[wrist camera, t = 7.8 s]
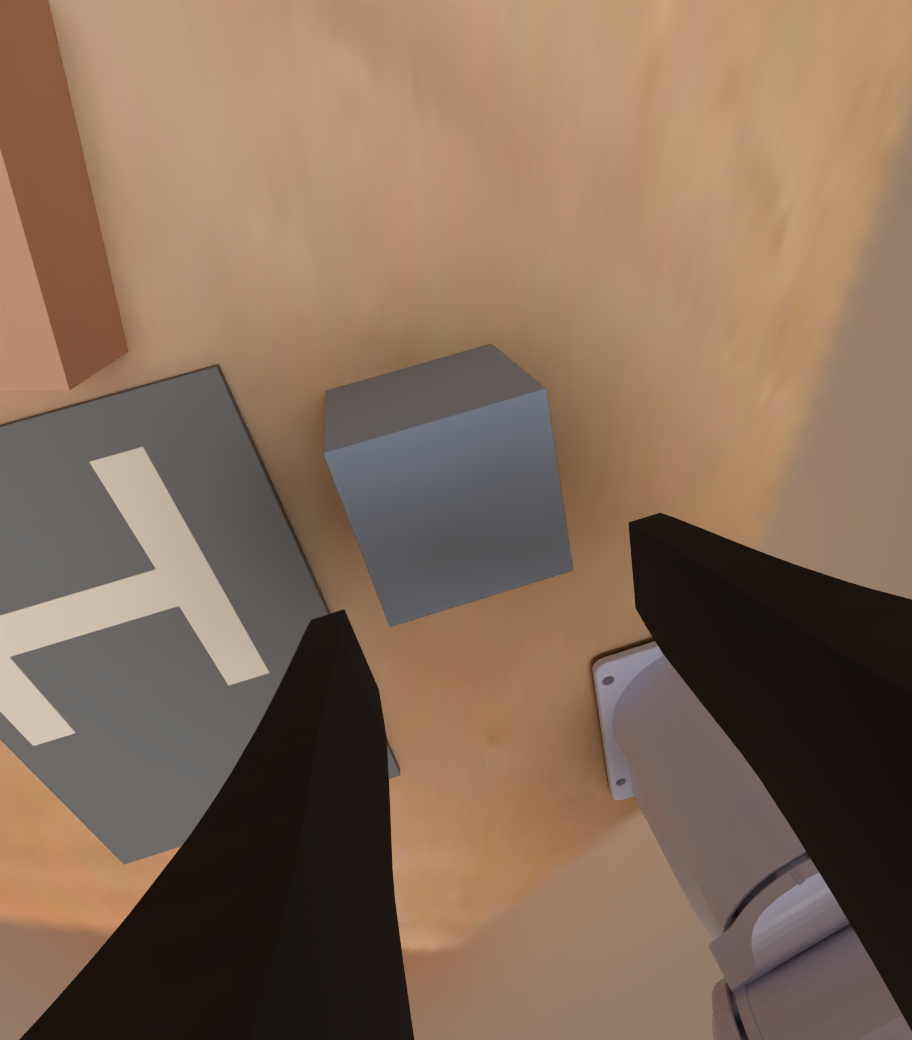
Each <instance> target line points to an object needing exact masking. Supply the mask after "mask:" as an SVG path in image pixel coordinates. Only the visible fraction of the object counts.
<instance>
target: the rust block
mask: <svg viewBox="0 0 912 1040" xmlns="http://www.w3.org/2000/svg"><path fill="white" fill-rule="evenodd" d="M126 352H128V349H127V344H126V340H125V336H124V331H123V327H122V322H121V318H120V314H119V309H118V305H117V300H116V296H115V292H114V287H113V283H112V279H111V274H110V270H109V265H108V261H107V257H106V252H105V248H104V243H103V239H102V235H101V230H100V226H99V221H98V217H97V213H96V208H95V204H94V199H93V195H92V191H91V186H90V182H89V177H88V173H87V169H86V164H85V160H84V155H83V151H82V147H81V142H80V138H79V133H78V129H77V125H76V120H75V116H74V112H73V107H72V103H71V98H70V94H69V90H68V85H67V81H66V76H65V72H64V68H63V63H62V59H61V54H60V50H59V46H58V41H57V37H56V32H55V28H54V24H53V19H52V15H51V10H50V6H49V2H48V0H0V391H63V390H71V389H72V388H74V387H75V386H77V385H78V384H80V383H81V382H83V381H84V380H86V379H87V378H89V377H90V376H92V375H93V374H95V373H96V372H98V371H99V370H101V369H102V368H104V367H105V366H107V365H108V364H110V363H111V362H113V361H114V360H116V359H117V358H119V357H120V356H122V355H123V354H125V353H126Z"/></svg>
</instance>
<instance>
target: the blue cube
mask: <svg viewBox="0 0 912 1040" xmlns="http://www.w3.org/2000/svg"><path fill="white" fill-rule="evenodd" d="M323 454H324V457H325V459H326V462H327V464H328V467H329V470H330V472H331V475H332V477H333V480H334V483H335V485H336V488H337V490H338V493H339V496H340V498H341V501H342V504H343V506H344V509H345V511H346V514H347V517H348V519H349V522H350V524H351V527H352V530H353V532H354V535H355V537H356V540H357V543H358V545H359V548H360V550H361V553H362V556H363V558H364V561H365V564H366V566H367V569H368V571H369V574H370V577H371V579H372V582H373V584H374V587H375V590H376V592H377V595H378V597H379V600H380V603H381V605H382V608H383V610H384V613H385V616H386V618H387V621H388V624H389V626H390V627H392V626H395V625H398V624H401V623H404V622H408V621H411V620H414V619H417V618H421V617H424V616H427V615H430V614H434V613H437V612H440V611H443V610H447V609H450V608H453V607H456V606H459V605H463V604H466V603H469V602H472V601H476V600H479V599H482V598H485V597H489V596H492V595H495V594H498V593H502V592H505V591H508V590H511V589H514V588H518V587H521V586H524V585H527V584H531V583H534V582H537V581H540V580H544V579H547V578H550V577H553V576H557V575H560V574H563V573H566V572H569V571H573V565H572V558H571V551H570V545H569V538H568V531H567V525H566V518H565V512H564V505H563V498H562V492H561V485H560V478H559V472H558V465H557V459H556V452H555V445H554V439H553V432H552V425H551V419H550V412H549V406H548V399H547V392H546V388H545V387H543V386H542V385H541V384H540V383H538V382H537V381H536V380H535V379H534V378H532V377H531V376H530V375H529V374H527V373H526V372H525V371H524V370H523V369H521V368H520V367H519V366H518V365H517V364H515V363H514V362H513V361H512V360H510V359H509V358H508V357H507V356H506V355H504V354H503V353H502V352H501V351H499V350H498V349H497V348H496V347H495V346H493V345H492V344H489V345H485V346H482V347H478V348H475V349H471V350H468V351H464V352H461V353H457V354H454V355H450V356H447V357H443V358H440V359H436V360H433V361H429V362H426V363H422V364H419V365H415V366H412V367H408V368H405V369H401V370H398V371H394V372H391V373H387V374H384V375H380V376H377V377H373V378H370V379H366V380H363V381H359V382H356V383H352V384H349V385H345V386H341V387H338V388H334V389H331V390H327V391H326V404H325V426H324V449H323Z"/></svg>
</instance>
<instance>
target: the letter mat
mask: <svg viewBox="0 0 912 1040" xmlns="http://www.w3.org/2000/svg"><path fill="white" fill-rule="evenodd" d="M328 614H330V612H329V610H328V608H327V606H326V603H325V601H324V599H323V597H322V595H321V592H320V590H319V588H318V586H317V583H316V581H315V579H314V577H313V574H312V572H311V570H310V568H309V566H308V563H307V561H306V559H305V557H304V554H303V552H302V550H301V548H300V545H299V543H298V541H297V539H296V537H295V534H294V532H293V530H292V528H291V525H290V523H289V521H288V519H287V516H286V514H285V512H284V510H283V508H282V505H281V503H280V501H279V499H278V496H277V494H276V492H275V490H274V487H273V485H272V483H271V481H270V479H269V476H268V474H267V472H266V470H265V467H264V465H263V463H262V461H261V458H260V456H259V454H258V452H257V450H256V447H255V445H254V443H253V441H252V438H251V436H250V434H249V432H248V429H247V427H246V425H245V423H244V421H243V418H242V416H241V414H240V412H239V409H238V407H237V405H236V403H235V400H234V398H233V396H232V394H231V392H230V389H229V387H228V385H227V383H226V380H225V378H224V376H223V374H222V371H221V369H220V367H219V365H218V364H217V365H214V366H210V367H207V368H203V369H200V370H196V371H192V372H189V373H185V374H182V375H178V376H174V377H171V378H167V379H164V380H160V381H157V382H153V383H149V384H146V385H142V386H139V387H135V388H132V389H128V390H124V391H121V392H117V393H114V394H110V395H106V396H103V397H99V398H96V399H92V400H89V401H85V402H81V403H78V404H74V405H71V406H67V407H63V408H60V409H56V410H53V411H49V412H46V413H42V414H38V415H35V416H31V417H28V418H24V419H21V420H17V421H13V422H10V423H6V424H3V425H0V740H1V741H2V742H3V743H4V744H5V745H6V746H7V747H8V748H9V749H10V750H11V751H12V752H13V753H14V754H15V755H16V756H17V757H18V758H19V759H20V760H21V761H22V762H23V763H24V764H25V765H26V766H27V767H28V768H29V769H30V770H31V771H32V772H33V773H34V774H35V775H36V776H37V777H38V778H39V779H40V780H41V781H42V782H43V783H44V784H45V785H46V786H47V787H48V788H49V789H50V790H51V791H52V792H53V793H54V794H55V795H56V796H57V797H58V798H59V799H60V800H61V801H62V802H63V803H64V804H65V805H66V806H67V807H68V808H69V809H70V810H71V811H72V812H73V813H74V814H75V815H76V816H77V817H78V818H79V819H80V820H81V821H82V822H83V824H84V825H85V826H86V827H87V828H88V829H89V830H90V831H91V832H92V833H93V834H94V835H95V836H96V837H97V838H98V839H99V840H100V841H101V842H102V843H103V844H104V845H105V846H106V847H107V848H108V849H109V850H110V851H111V852H112V853H113V854H114V855H115V856H116V857H117V858H118V859H119V860H120V861H121V862H122V863H123V864H127V863H130V862H133V861H136V860H139V859H143V858H146V857H149V856H152V855H155V854H158V853H161V852H164V851H167V850H170V849H173V848H177V847H180V846H182V845H183V844H184V842H185V841H186V840H187V838H188V837H189V835H190V834H191V833H192V831H193V830H194V828H195V827H196V825H197V824H198V822H199V821H200V820H201V818H202V817H203V815H204V814H205V812H206V811H207V809H208V808H209V806H210V805H211V803H212V802H213V800H214V799H215V797H216V796H217V794H218V793H219V791H220V789H221V788H222V786H223V785H224V783H225V782H226V780H227V778H228V777H229V775H230V773H231V772H232V770H233V769H234V767H235V765H236V763H237V762H238V760H239V758H240V756H241V755H242V753H243V751H244V749H245V748H246V746H247V744H248V743H249V741H250V739H251V737H252V736H253V734H254V732H255V730H256V729H257V727H258V725H259V723H260V721H261V719H262V718H263V716H264V714H265V712H266V710H267V708H268V706H269V704H270V702H271V700H272V698H273V696H274V694H275V692H276V690H277V688H278V686H279V685H280V683H281V681H282V678H283V676H284V674H285V672H286V670H287V668H288V666H289V664H290V662H291V660H292V658H293V656H294V653H295V651H296V649H297V647H298V645H299V643H300V641H301V638H302V636H303V634H304V632H305V630H306V628H307V626H308V624H309V623H310V621H311V620H312V619H315V618H318V617H322V616H325V615H328ZM387 752H388V774H389V779H390V778H393V777H396V776H399V775H400V769H399V766H398V764H397V762H396V760H395V757H394V755H393V753H392V751H391V748H390V746H389V744H388V742H387Z"/></svg>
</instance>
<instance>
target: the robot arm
mask: <svg viewBox="0 0 912 1040" xmlns="http://www.w3.org/2000/svg"><path fill="white" fill-rule="evenodd" d="M629 533H630V545H631V557H632V569H633V581H634V593H635V605H636V609H637V611H638V613H639V615H640V616H641V618H642V620H643V622H644V623H645V625H646V627H647V629H648V630H649V632H650V634H651V635H652V637H653V639H654V640H655V641H654V642H651V643H648V644H644V645H641V646H638V647H635V648H632V649H629V650H626V651H622V652H619V653H616V654H613V655H610V656H607V657H604V658H601V659H599V660H597V661H596V662H595V663H594V665H593V668H592V672H593V679H594V685H595V692H596V699H597V706H598V713H599V720H600V727H601V734H602V741H603V747H604V754H605V761H606V768H607V775H608V782H609V789H610V793H611V795H612V797H613V799H615V800H624V799H627V798H630V797H633V796H634V797H635V799H636V801H637V802H638V804H639V806H640V808H641V810H642V812H643V814H644V816H645V818H646V820H647V822H648V824H649V826H650V828H651V830H652V832H653V833H654V835H655V837H656V839H657V841H658V843H659V845H660V847H661V849H662V851H663V853H664V855H665V857H666V859H667V860H668V863H669V864H670V866H671V868H672V870H673V872H674V874H675V876H676V878H677V880H678V882H679V884H680V886H681V888H682V890H683V892H684V893H685V895H686V897H687V899H688V901H689V903H690V905H691V907H692V909H693V911H694V912H695V914H696V915H697V917H698V919H699V920H700V922H701V923H702V924H703V926H704V927H705V928H706V930H707V931H708V932H709V933H710V934H711V935H712V936H713V937H714V938H715V940H714V941H712V942H711V943H710V944H709V948H710V950H711V952H712V954H713V956H714V958H715V960H716V962H717V963H718V966H719V968H720V969H721V971H722V973H723V975H724V977H725V978H723V979H722V980H720V981H719V982H717V983H716V984H715V986H714V988H713V991H712V1009H713V1017H712V1018H713V1019H712V1028H713V1037H714V1040H912V600H911V599H907V598H904V597H900V596H896V595H892V594H888V593H885V592H881V591H877V590H873V589H870V588H866V587H863V586H860V585H856V584H853V583H849V582H846V581H843V580H840V579H837V578H834V577H831V576H828V575H825V574H822V573H819V572H816V571H813V570H810V569H807V568H803V567H801V566H798V565H795V564H792V563H789V562H786V561H784V560H781V559H778V558H775V557H773V556H770V555H767V554H765V553H762V552H760V551H757V550H754V549H752V548H749V547H747V546H744V545H741V544H739V543H736V542H734V541H731V540H729V539H726V538H724V537H721V536H719V535H716V534H714V533H711V532H709V531H706V530H704V529H702V528H699V527H697V526H694V525H692V524H689V523H687V522H684V521H681V520H679V519H676V518H674V517H671V516H668V515H665V514H662V513H658V514H655V515H652V516H648V517H645V518H642V519H639V520H635V521H632V522H629ZM607 676H608V677H607ZM605 677H607V678H605ZM20 1040H414V1035H413V1028H412V1021H411V1014H410V1007H409V1000H408V993H407V986H406V980H405V972H404V966H403V958H402V950H401V942H400V935H399V927H398V920H397V912H396V905H395V895H394V883H393V870H392V847H391V822H390V797H389V774H388V752H387V738H386V732H385V725H384V719H383V713H382V707H381V701H380V695H379V689H378V687H377V684H376V682H375V680H374V677H373V675H372V673H371V670H370V668H369V666H368V663H367V661H366V659H365V656H364V654H363V652H362V649H361V647H360V645H359V642H358V640H357V638H356V635H355V633H354V631H353V628H352V626H351V624H350V621H349V619H348V617H347V614H346V612H345V610H341V611H338V612H335V613H331V614H328V615H325V616H322V617H318V618H315V619H312V620H311V621H310V623H309V624H308V626H307V628H306V630H305V632H304V634H303V636H302V638H301V641H300V643H299V645H298V647H297V649H296V651H295V653H294V656H293V658H292V660H291V662H290V664H289V666H288V668H287V670H286V672H285V674H284V676H283V678H282V681H281V683H280V685H279V686H278V688H277V690H276V692H275V694H274V696H273V698H272V700H271V702H270V704H269V706H268V708H267V710H266V712H265V714H264V716H263V718H262V719H261V721H260V723H259V725H258V727H257V729H256V730H255V732H254V734H253V736H252V737H251V739H250V741H249V743H248V744H247V746H246V748H245V749H244V751H243V753H242V755H241V756H240V758H239V760H238V762H237V763H236V765H235V767H234V769H233V770H232V772H231V773H230V775H229V777H228V778H227V780H226V782H225V783H224V785H223V786H222V788H221V789H220V791H219V793H218V794H217V796H216V797H215V799H214V800H213V802H212V803H211V805H210V806H209V808H208V809H207V811H206V812H205V814H204V815H203V817H202V818H201V820H200V821H199V822H198V824H197V825H196V827H195V828H194V830H193V831H192V833H191V834H190V835H189V837H188V838H187V840H186V841H185V842H184V844H183V845H182V846H181V848H180V849H179V850H178V852H177V853H176V854H175V856H174V857H173V858H172V860H171V861H170V862H169V863H168V865H167V866H166V867H165V869H164V870H163V871H162V872H161V874H160V875H159V876H158V878H157V879H156V880H155V881H154V883H153V884H152V885H151V887H150V888H149V889H148V891H147V892H146V893H145V894H144V896H143V897H142V898H141V900H140V901H139V902H138V903H137V905H136V906H135V907H134V909H133V910H132V911H131V912H130V914H129V915H128V916H127V917H126V919H125V920H124V921H123V922H122V924H121V925H120V926H119V927H118V928H117V930H116V931H115V932H114V933H113V934H112V936H111V937H110V938H109V939H108V940H107V941H106V943H105V944H104V945H103V946H102V947H101V949H100V950H99V951H98V952H97V953H96V954H95V956H94V957H93V958H92V959H91V960H90V962H89V963H88V964H87V965H86V966H85V967H84V968H83V970H82V971H81V972H80V973H79V974H78V975H77V977H75V979H74V980H73V981H72V982H71V983H70V984H69V985H68V987H67V988H66V989H65V990H64V991H63V992H62V993H61V994H60V996H59V997H58V998H57V999H56V1000H55V1001H54V1002H53V1004H52V1005H51V1006H50V1007H49V1008H48V1009H47V1010H46V1011H45V1013H44V1014H43V1015H42V1016H41V1017H40V1018H39V1019H38V1020H37V1021H36V1022H35V1023H34V1024H33V1026H32V1027H31V1028H30V1029H29V1030H28V1031H27V1032H26V1033H25V1034H24V1035H23V1037H22V1038H21V1039H20Z"/></svg>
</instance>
